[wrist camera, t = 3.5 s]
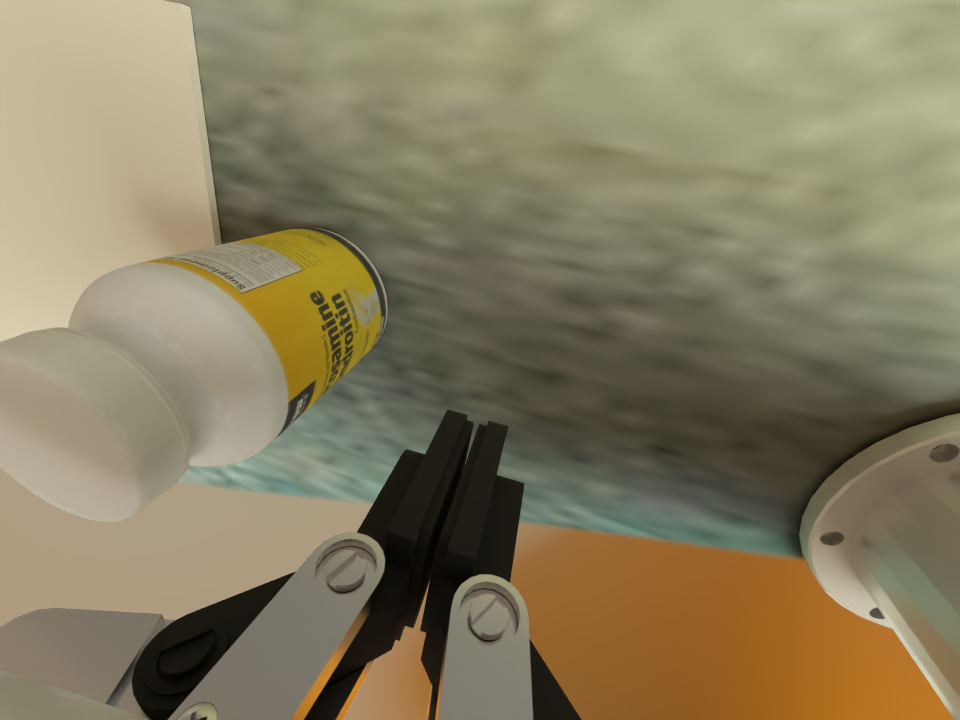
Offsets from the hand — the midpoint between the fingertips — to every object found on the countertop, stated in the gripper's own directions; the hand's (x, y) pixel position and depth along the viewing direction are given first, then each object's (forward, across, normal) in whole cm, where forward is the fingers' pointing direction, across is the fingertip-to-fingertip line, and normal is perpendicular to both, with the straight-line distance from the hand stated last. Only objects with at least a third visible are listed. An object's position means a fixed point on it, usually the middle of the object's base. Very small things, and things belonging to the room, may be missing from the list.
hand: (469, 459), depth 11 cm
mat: (+8, +26, 0) cm, 28 cm away
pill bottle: (+8, +9, 0) cm, 12 cm away
